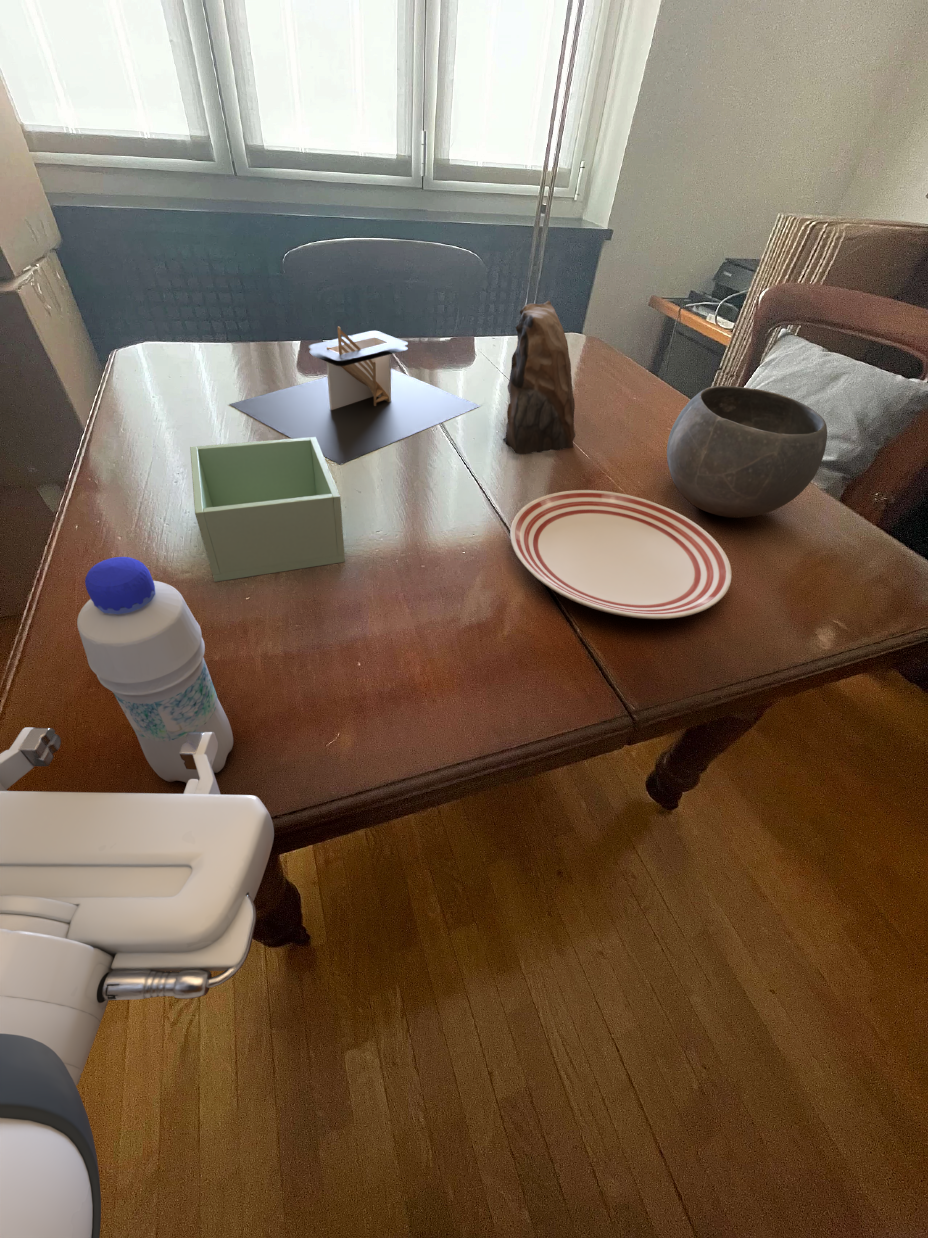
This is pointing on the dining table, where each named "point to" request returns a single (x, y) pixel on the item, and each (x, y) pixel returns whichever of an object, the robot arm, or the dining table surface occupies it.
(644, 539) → the dinner plate
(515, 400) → the brown carved statue
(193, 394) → the dining table surface
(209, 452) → the open storage bin
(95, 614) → the bottle
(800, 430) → the bowl
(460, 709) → the dining table surface
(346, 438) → the architectural model
